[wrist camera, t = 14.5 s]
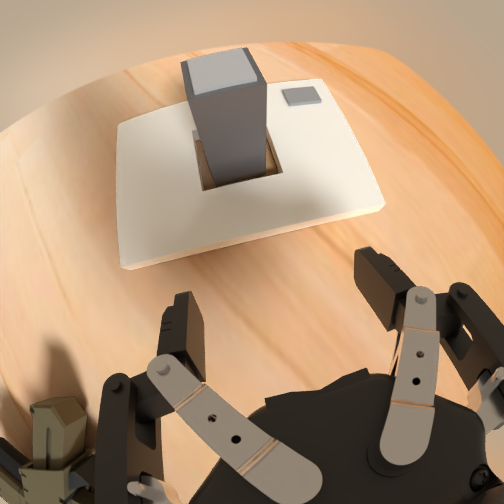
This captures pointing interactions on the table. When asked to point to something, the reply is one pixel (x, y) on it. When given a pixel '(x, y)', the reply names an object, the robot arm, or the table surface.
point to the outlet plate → (243, 193)
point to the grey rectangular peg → (229, 113)
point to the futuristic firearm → (50, 458)
